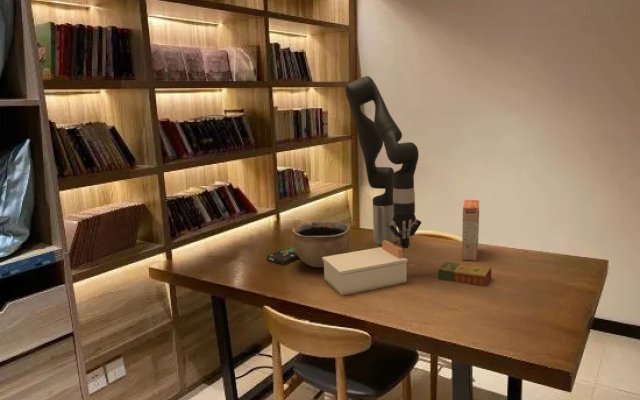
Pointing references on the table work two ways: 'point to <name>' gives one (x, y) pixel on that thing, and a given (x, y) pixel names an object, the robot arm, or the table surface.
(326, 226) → the ceramic bowl
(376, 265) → the lid
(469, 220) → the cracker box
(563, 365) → the table surface
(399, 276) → the box
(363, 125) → the robot arm
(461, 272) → the carton
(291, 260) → the disk drive
